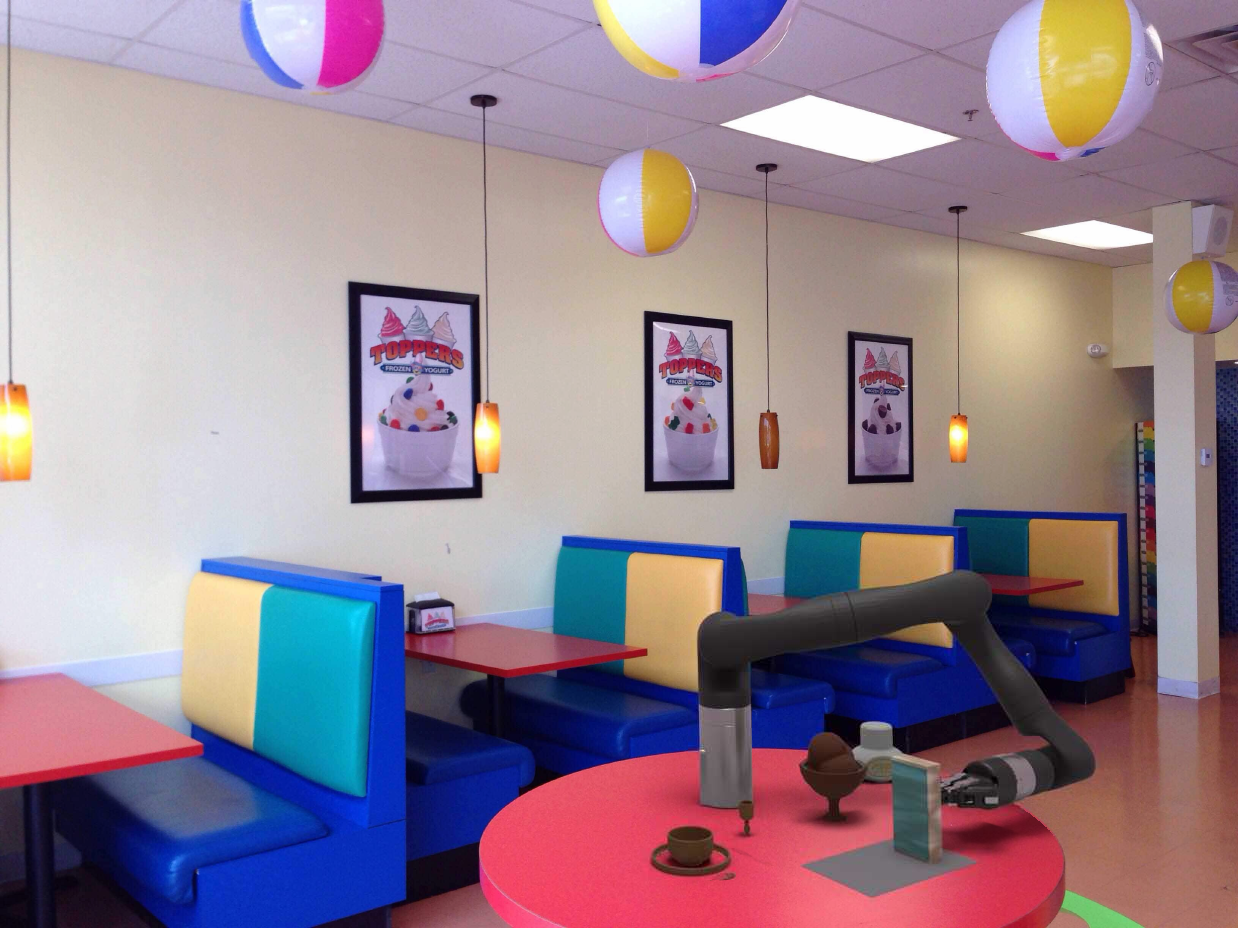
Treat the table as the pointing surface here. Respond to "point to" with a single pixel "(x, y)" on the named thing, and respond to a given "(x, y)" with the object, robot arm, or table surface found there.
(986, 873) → the table surface
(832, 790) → the ice cream bowl
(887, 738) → the air freshener
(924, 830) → the tile
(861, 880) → the mat
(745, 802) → the place setting
